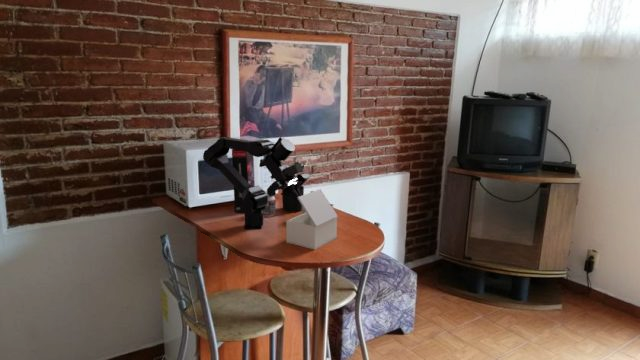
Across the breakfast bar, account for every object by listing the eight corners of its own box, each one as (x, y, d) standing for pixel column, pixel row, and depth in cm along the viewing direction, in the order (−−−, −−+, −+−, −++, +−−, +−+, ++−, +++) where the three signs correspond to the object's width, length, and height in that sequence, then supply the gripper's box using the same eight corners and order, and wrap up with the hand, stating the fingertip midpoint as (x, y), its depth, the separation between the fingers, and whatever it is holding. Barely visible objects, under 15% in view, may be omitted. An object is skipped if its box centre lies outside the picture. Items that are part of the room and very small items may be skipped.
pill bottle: (272, 217, 196) (272, 194, 194) (259, 216, 197) (259, 193, 195) (277, 213, 201) (277, 190, 199) (264, 212, 203) (264, 189, 201)
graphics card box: (249, 213, 201) (248, 149, 195) (233, 213, 201) (231, 149, 195) (255, 202, 218) (254, 143, 212) (240, 202, 218) (238, 143, 212)
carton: (286, 242, 168) (286, 220, 166) (309, 231, 179) (309, 211, 177) (315, 249, 161) (315, 227, 159) (336, 238, 173) (337, 216, 171)
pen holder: (305, 212, 204) (305, 189, 202) (283, 213, 202) (283, 190, 200) (301, 206, 213) (301, 184, 211) (280, 207, 211) (280, 185, 209)
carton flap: (297, 197, 162) (298, 196, 161) (319, 189, 173) (320, 188, 172) (315, 226, 160) (316, 226, 159) (336, 216, 171) (337, 216, 170)
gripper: (273, 158, 161) (299, 195, 158) (304, 151, 176) (330, 184, 173) (255, 178, 167) (281, 214, 164) (287, 169, 182) (311, 202, 179)
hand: (302, 202), depth 170 cm, fingers closed
